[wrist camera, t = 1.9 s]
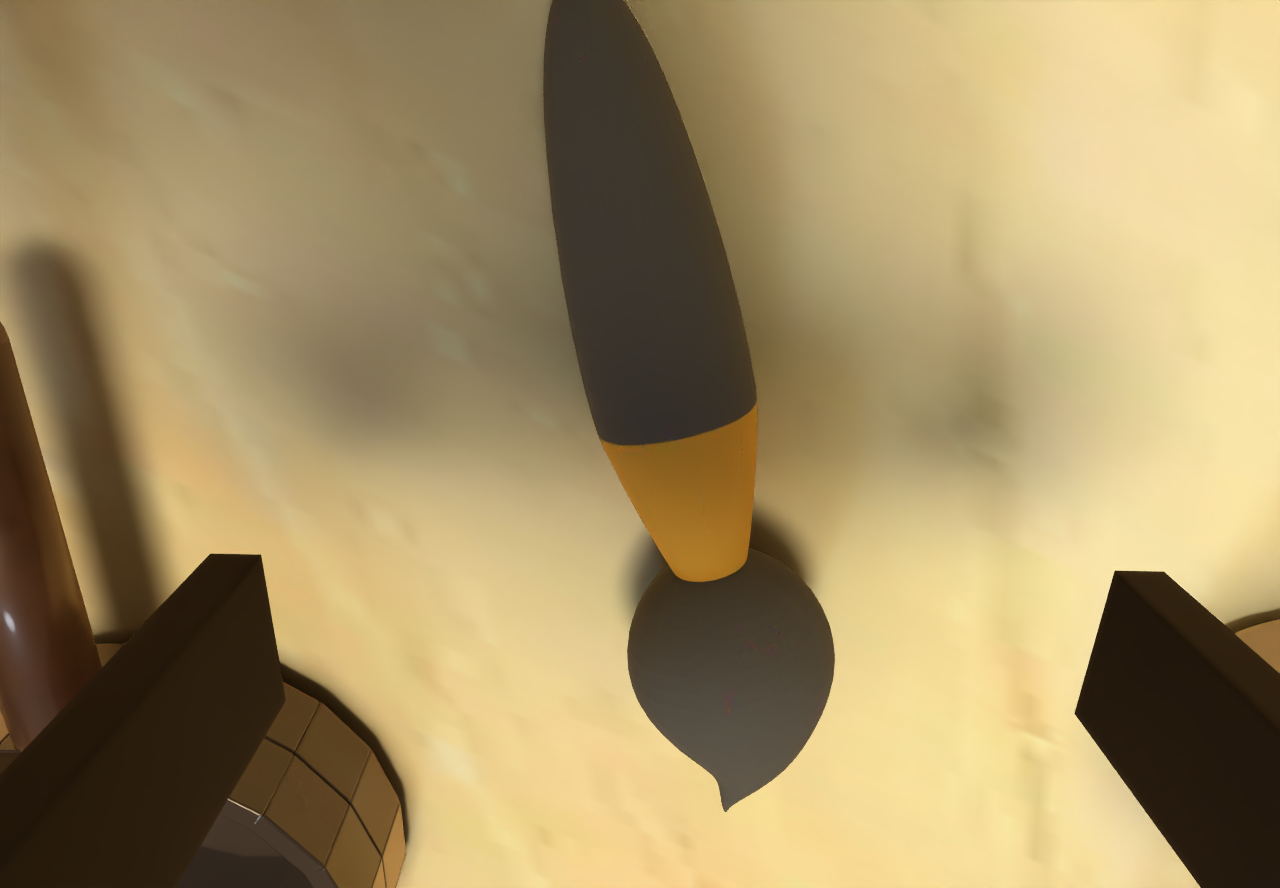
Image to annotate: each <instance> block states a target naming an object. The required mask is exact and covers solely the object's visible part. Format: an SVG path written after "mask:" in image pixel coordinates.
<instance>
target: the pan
mask: <svg viewBox="0 0 1280 888" xmlns="http://www.w3.org/2000/svg"><path fill="white" fill-rule="evenodd" d="M123 645H124V644H110V643H100V644H98V645H96V647H97V650H98V654H99V658H100V661H101V665H102V667H103V666H104V665H105V664H106V663H107V662H108V661H109V660H110V659H111V658H112V657H113V656H114V655H115V653H116V652H117V651H118V650H119V649H120V648H121V647H122V646H123ZM283 686H284V692H285V698H286V702H285V703H284V705H283V707H282V708H281V710H280V712H279V714H278V715H277V717H276V719H275V720H274V722H273V724H272V725H271V727H270V729H269V731H268V732H267V734H266V736H265V737H264V739H263V741H262V742H261V744H260V746H259V748H258V749H257V751H256V753H255V754H254V756H253V758H252V759H251V761H250V763H249V765H248V766H247V768H246V770H245V771H244V773H243V775H242V776H241V778H240V780H239V782H238V783H237V785H236V787H235V788H234V790H233V792H232V793H231V795H230V797H229V799H228V800H227V802H226V804H225V805H224V807H223V809H222V810H221V812H220V814H219V816H218V817H217V819H216V821H215V822H214V824H213V826H212V827H211V829H210V831H209V833H208V834H207V836H206V838H205V839H204V841H203V843H202V844H201V846H200V848H199V850H198V851H197V853H196V855H195V856H194V858H193V860H192V861H191V863H190V865H189V867H188V868H187V870H186V872H185V873H184V875H183V877H182V878H181V880H180V882H179V884H178V885H177V887H176V888H396V886H397V883H398V879H399V876H400V873H401V869H402V866H403V863H404V859H405V856H406V847H405V838H404V830H403V821H402V813H401V805H400V802H399V798H398V796H397V794H396V792H395V791H394V789H393V787H392V785H391V783H390V782H389V780H388V778H387V776H386V774H385V773H384V771H383V769H382V767H381V765H380V763H379V762H378V760H377V758H376V756H375V754H374V753H373V751H372V750H371V748H370V747H369V746H368V745H367V744H366V743H365V742H364V741H363V740H362V739H361V738H360V737H359V736H358V735H356V734H355V733H354V732H353V731H352V730H351V729H350V728H349V727H348V726H347V725H346V724H345V723H344V722H343V721H342V720H341V719H339V718H338V717H337V716H336V715H335V714H334V713H333V712H332V711H331V710H330V709H329V708H328V707H327V706H326V705H325V704H324V703H320V702H319V700H317V699H315V698H313V697H311V696H310V695H308V694H306V693H304V692H302V691H300V690H298V689H297V688H295V687H293V686H291V685H289V684H287V683H285V682H284V681H283ZM0 753H21V751H20V750H18V749H17V748H16V747H15V745H14V744H13V742H12V740H11V738H10V736H9V733H8V730H7V727H6V724H5V721H4V719H3V716H2V713H1V710H0Z"/></svg>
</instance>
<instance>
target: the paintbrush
mask: <svg viewBox="0 0 1280 888" xmlns="http://www.w3.org/2000/svg"><path fill="white" fill-rule="evenodd" d="M543 95H544V124H545V138H546V152H547V164H548V173H549V183H550V193H551V202H552V212H553V219H554V226H555V233H556V240H557V247H558V255H559V262H560V269H561V276H562V282H563V287H564V293H565V298H566V304H567V309H568V315H569V320H570V326H571V331H572V336H573V341H574V345H575V349H576V354H577V358H578V363H579V367H580V371H581V376H582V380H583V384H584V388H585V392H586V395H587V399H588V403H589V407H590V411H591V414H592V418H593V421H594V424H595V427H596V430H597V433H598V435H599V438H600V441H601V443H602V445H603V448H604V450H605V452H606V454H607V456H608V457H609V459H610V461H611V463H612V465H613V467H614V469H615V471H616V473H617V475H618V477H619V479H620V481H621V483H622V485H623V487H624V489H625V491H626V492H627V494H628V496H629V498H630V500H631V501H632V503H633V505H634V507H635V509H636V510H637V512H638V514H639V516H640V518H641V519H642V521H643V523H644V525H645V527H646V528H647V530H648V532H649V533H650V535H651V537H652V538H653V540H654V542H655V543H656V545H657V547H658V548H659V550H660V552H661V553H662V555H663V557H664V558H665V560H666V561H667V563H668V566H667V567H666V568H665V569H663V570H662V571H661V572H660V573H659V574H658V575H657V577H656V578H655V579H654V580H653V581H652V583H651V584H650V585H649V587H648V588H647V590H646V591H645V593H644V595H643V596H642V598H641V600H640V602H639V604H638V606H637V609H636V611H635V614H634V617H633V620H632V623H631V627H630V631H629V640H628V649H627V653H628V670H629V675H630V679H631V683H632V687H633V689H634V692H635V694H636V697H637V699H638V702H639V703H640V705H641V707H642V708H643V710H644V712H645V713H646V715H647V716H648V718H649V719H650V721H651V722H652V723H653V724H654V725H655V726H656V728H657V729H658V730H659V731H660V732H661V733H662V734H663V735H664V736H665V737H666V738H667V739H668V740H669V741H670V742H671V743H672V744H673V745H674V746H676V747H677V748H678V749H679V750H680V751H681V752H683V753H684V754H685V755H687V756H688V757H689V758H691V759H692V760H693V761H695V762H696V763H697V764H699V765H700V766H702V767H703V768H704V769H705V770H707V771H708V772H709V773H710V774H712V775H713V776H714V777H715V779H716V781H717V783H718V785H719V790H720V795H721V802H722V806H723V809H724V811H725V812H727V810H728V809H729V808H730V807H731V806H732V805H734V804H735V803H737V802H738V801H740V800H742V799H744V798H745V797H747V796H749V795H750V794H752V793H754V792H755V791H757V790H759V789H760V788H761V787H763V786H764V785H766V784H767V783H769V782H770V781H772V780H773V779H774V778H775V777H777V776H778V775H779V774H780V773H781V772H783V771H784V770H785V769H786V768H787V767H788V765H789V764H790V763H791V762H792V761H793V760H794V759H795V758H796V756H797V755H798V754H799V753H800V751H801V750H802V749H803V747H804V746H805V744H806V743H807V741H808V739H809V738H810V736H811V734H812V733H813V731H814V729H815V727H816V725H817V723H818V721H819V719H820V717H821V715H822V713H823V710H824V708H825V705H826V703H827V700H828V697H829V693H830V689H831V685H832V681H833V675H834V663H835V654H834V645H833V638H832V634H831V629H830V626H829V623H828V620H827V618H826V616H825V613H824V611H823V609H822V607H821V605H820V603H819V602H818V600H817V598H816V597H815V595H814V593H813V592H812V591H811V589H810V588H809V587H808V586H807V585H806V583H805V582H804V581H803V580H802V579H801V578H800V577H799V576H798V575H797V574H796V573H795V572H794V571H793V570H791V569H790V568H789V567H788V566H786V565H785V564H783V563H782V562H780V561H779V560H777V559H776V558H774V557H772V556H770V555H768V554H765V553H763V552H760V551H757V550H754V549H751V548H749V540H750V531H751V521H752V511H753V499H754V483H755V468H756V446H757V395H756V385H755V380H754V374H753V368H752V363H751V357H750V352H749V347H748V343H747V338H746V333H745V329H744V324H743V319H742V315H741V310H740V306H739V302H738V298H737V294H736V290H735V286H734V282H733V279H732V275H731V271H730V267H729V263H728V259H727V255H726V252H725V249H724V245H723V242H722V238H721V235H720V232H719V228H718V225H717V222H716V218H715V215H714V212H713V209H712V205H711V202H710V199H709V195H708V192H707V189H706V186H705V183H704V180H703V178H702V175H701V172H700V169H699V166H698V163H697V160H696V157H695V154H694V151H693V148H692V145H691V143H690V140H689V137H688V134H687V132H686V129H685V126H684V123H683V121H682V118H681V115H680V113H679V110H678V107H677V105H676V102H675V100H674V97H673V95H672V93H671V90H670V88H669V85H668V83H667V80H666V78H665V76H664V73H663V71H662V69H661V67H660V65H659V63H658V60H657V58H656V56H655V54H654V52H653V50H652V48H651V46H650V44H649V42H648V40H647V38H646V36H645V34H644V33H643V31H642V29H641V27H640V25H639V24H638V22H637V20H636V19H635V17H634V16H633V14H632V12H631V11H630V9H629V7H628V6H627V5H626V3H625V2H624V1H623V0H552V4H551V7H550V13H549V18H548V24H547V32H546V39H545V53H544V80H543Z"/></svg>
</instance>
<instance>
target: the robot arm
mask: <svg viewBox="0 0 1280 888" xmlns="http://www.w3.org/2000/svg"><path fill="white" fill-rule="evenodd" d="M285 702H286V698H285V692H284V686H283V680H282V674H281V669H280V663H279V657H278V651H277V645H276V639H275V634H274V628H273V622H272V616H271V610H270V605H269V599H268V593H267V587H266V581H265V576H264V570H263V564H262V558H261V555H246V554H210V555H209V556H208V557H207V558H206V559H205V560H204V561H203V562H202V563H201V564H200V565H199V566H198V567H197V568H196V569H195V570H194V571H193V573H192V574H191V575H190V576H189V577H188V578H187V579H186V580H185V581H184V582H183V583H182V584H181V585H180V586H179V587H178V588H177V589H176V590H175V591H174V592H173V594H172V595H171V596H170V597H169V598H168V599H167V600H166V601H165V602H164V603H163V604H162V605H161V606H160V607H159V608H158V609H157V610H156V611H155V612H154V614H153V615H152V616H151V617H150V618H149V619H148V620H147V621H146V622H145V623H144V624H143V625H142V626H141V627H140V628H139V629H138V630H137V631H136V632H135V633H134V635H133V636H132V637H131V638H130V639H129V640H128V641H127V642H126V643H125V644H124V645H123V646H122V647H121V648H120V649H119V650H118V651H117V652H116V653H115V655H114V656H113V657H112V658H111V659H110V660H109V661H108V662H107V663H106V664H105V665H104V666H103V667H102V668H101V669H100V670H99V671H98V672H97V673H96V674H95V676H94V677H93V678H92V679H91V680H90V681H89V682H88V683H87V684H86V685H85V686H84V687H83V688H82V689H81V690H80V691H79V692H78V693H77V694H76V695H75V697H74V698H73V699H72V700H71V701H70V702H69V703H68V704H67V705H66V706H65V707H64V708H63V709H62V710H61V711H60V712H59V713H58V714H57V715H56V717H55V718H54V719H53V720H52V721H51V722H50V723H49V724H48V725H47V726H46V727H45V728H44V729H43V730H42V731H41V732H40V733H39V734H38V735H37V736H36V738H35V739H34V740H33V741H32V742H31V743H30V744H29V745H28V746H27V747H26V748H25V749H24V750H23V751H22V752H21V753H0V888H176V887H177V885H178V884H179V882H180V880H181V878H182V877H183V875H184V873H185V872H186V870H187V868H188V867H189V865H190V863H191V861H192V860H193V858H194V856H195V855H196V853H197V851H198V850H199V848H200V846H201V844H202V843H203V841H204V839H205V838H206V836H207V834H208V833H209V831H210V829H211V827H212V826H213V824H214V822H215V821H216V819H217V817H218V816H219V814H220V812H221V810H222V809H223V807H224V805H225V804H226V802H227V800H228V799H229V797H230V795H231V793H232V792H233V790H234V788H235V787H236V785H237V783H238V782H239V780H240V778H241V776H242V775H243V773H244V771H245V770H246V768H247V766H248V765H249V763H250V761H251V759H252V758H253V756H254V754H255V753H256V751H257V749H258V748H259V746H260V744H261V742H262V741H263V739H264V737H265V736H266V734H267V732H268V731H269V729H270V727H271V725H272V724H273V722H274V720H275V719H276V717H277V715H278V714H279V712H280V710H281V708H282V707H283V705H284V703H285ZM1075 715H1076V716H1077V718H1078V719H1079V720H1080V722H1081V723H1082V724H1083V726H1084V727H1085V729H1086V730H1087V731H1088V733H1089V734H1090V735H1091V737H1092V738H1093V740H1094V741H1095V742H1096V744H1097V745H1098V746H1099V748H1100V749H1101V751H1102V752H1103V753H1104V755H1105V756H1106V757H1107V759H1108V760H1109V762H1110V763H1111V764H1112V766H1113V767H1114V769H1115V770H1116V771H1117V773H1118V774H1119V775H1120V777H1121V778H1122V780H1123V781H1124V782H1125V784H1126V785H1127V786H1128V788H1129V789H1130V791H1131V792H1132V793H1133V795H1134V796H1135V797H1136V799H1137V800H1138V802H1139V803H1140V804H1141V806H1142V807H1143V808H1144V810H1145V811H1146V813H1147V814H1148V815H1149V817H1150V818H1151V820H1152V821H1153V822H1154V824H1155V825H1156V826H1157V828H1158V829H1159V831H1160V832H1161V833H1162V835H1163V836H1164V837H1165V839H1166V840H1167V842H1168V843H1169V844H1170V846H1171V847H1172V848H1173V850H1174V851H1175V853H1176V854H1177V855H1178V857H1179V858H1180V859H1181V861H1182V862H1183V864H1184V865H1185V866H1186V868H1187V869H1188V870H1189V872H1190V873H1191V875H1192V876H1193V877H1194V879H1195V880H1196V882H1197V883H1198V884H1199V886H1200V887H1201V888H1280V673H1279V672H1277V671H1276V670H1275V669H1274V668H1273V667H1272V666H1271V665H1270V664H1268V663H1267V662H1266V661H1265V660H1264V659H1263V658H1262V657H1260V656H1259V655H1258V654H1257V653H1256V652H1255V651H1254V650H1252V649H1251V648H1250V647H1249V646H1248V645H1247V644H1246V643H1244V642H1243V641H1242V640H1241V639H1240V638H1239V637H1238V636H1236V635H1235V634H1234V633H1233V632H1232V631H1231V630H1230V629H1228V628H1227V627H1226V626H1225V625H1224V624H1223V623H1222V622H1221V621H1219V620H1218V619H1217V618H1216V617H1215V616H1214V615H1213V614H1211V613H1210V612H1209V611H1208V610H1207V609H1206V608H1205V607H1203V606H1202V605H1201V604H1200V603H1199V602H1198V601H1197V600H1195V599H1194V598H1193V597H1192V596H1191V595H1190V594H1189V593H1187V592H1186V591H1185V590H1184V589H1183V588H1182V587H1181V586H1179V585H1178V584H1177V583H1176V582H1175V581H1174V580H1173V579H1171V578H1170V577H1169V576H1168V575H1167V574H1166V573H1165V572H1148V571H1115V572H1114V576H1113V579H1112V583H1111V586H1110V590H1109V593H1108V597H1107V600H1106V604H1105V607H1104V611H1103V615H1102V618H1101V622H1100V625H1099V629H1098V632H1097V636H1096V639H1095V643H1094V646H1093V650H1092V654H1091V657H1090V661H1089V664H1088V668H1087V671H1086V675H1085V678H1084V682H1083V685H1082V689H1081V693H1080V696H1079V700H1078V703H1077V707H1076V710H1075Z"/></svg>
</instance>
